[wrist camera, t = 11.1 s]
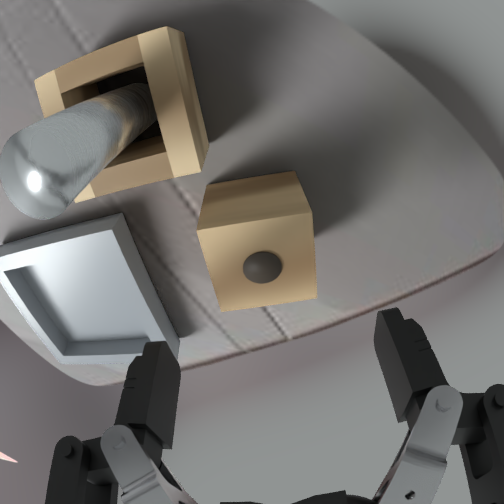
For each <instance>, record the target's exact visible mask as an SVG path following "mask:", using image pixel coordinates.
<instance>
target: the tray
mask: <svg viewBox="0 0 504 504" xmlns="http://www.w3.org/2000/svg"><path fill="white" fill-rule="evenodd" d="M0 283H1V284H2V286H3V287H4V289H5V290H6V292H7V293H8V295H9V296H10V298H11V299H12V301H13V302H14V304H15V305H16V307H17V308H18V310H19V311H20V312H21V314H22V315H23V317H24V318H25V319H26V321H27V322H28V324H29V325H30V326H31V328H32V329H33V330H34V332H35V333H36V334H37V335H38V337H39V338H40V339H41V341H42V342H43V343H44V344H45V346H46V347H47V348H48V349H49V350H50V352H51V353H52V354H53V355H54V356H55V358H56V359H57V360H58V361H59V362H60V364H118V363H131V362H132V361H133V360H134V358H135V357H136V356H142V353H143V349H144V345H145V343H146V342H152V341H166V342H167V343H168V345H169V347H170V349H171V351H172V352H173V354H174V356H175V358H176V360H177V359H178V352H179V345H180V340H179V338H178V336H177V334H176V332H175V330H174V328H173V326H172V324H171V322H170V320H169V318H168V316H167V314H166V312H165V310H164V307H163V305H162V303H161V301H160V299H159V297H158V295H157V293H156V291H155V288H154V286H153V284H152V282H151V280H150V277H149V275H148V273H147V271H146V268H145V266H144V264H143V262H142V259H141V257H140V255H139V252H138V250H137V248H136V245H135V243H134V240H133V238H132V236H131V233H130V231H129V228H128V226H127V223H126V221H125V218H124V216H123V213H118V214H114V215H110V216H106V217H102V218H98V219H94V220H90V221H86V222H82V223H78V224H74V225H70V226H66V227H63V228H59V229H55V230H52V231H48V232H44V233H41V234H37V235H34V236H30V237H27V238H23V239H20V240H17V241H13V242H10V243H7V244H3V245H0Z"/></svg>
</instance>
